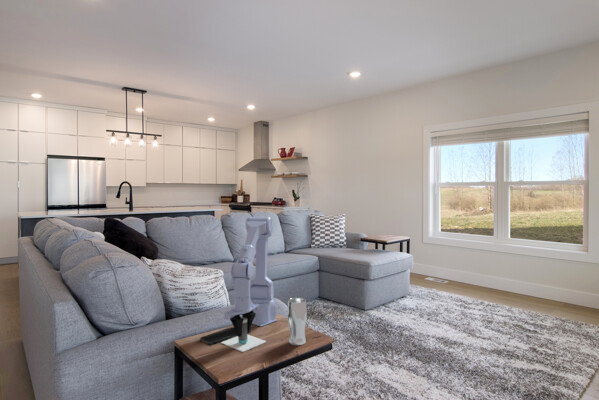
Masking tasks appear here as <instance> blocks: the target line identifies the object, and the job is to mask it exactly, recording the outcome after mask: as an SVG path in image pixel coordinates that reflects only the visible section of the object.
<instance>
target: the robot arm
mask: <svg viewBox="0 0 599 400" xmlns="http://www.w3.org/2000/svg"><path fill="white" fill-rule="evenodd" d="M245 230H246V232H247V234H246V239H245V244H244V245H243V246H241V248H240V250H239V253H238V257H237V259H236V262H234V263H232V266H231V269H230V270H231V271H230V275H231V279H232V284H233V301H234V304H233V305H234V306H233V309H231V310H229V311H226V312H224V316H223V317H224V318H223V319H224V320H227V321H229V320H230V322H231V324H232V326H233V327H234V329H235V333H236V336H238V337H241V335H242V323H243V320H244V318H242V317H245V318H247V334H248V335H250V333H251V332H250V331H251V328H252V325H255V326H258V327H264V326H266V325H269V324H272V323H274V322H277V321H278V319H276V318H277V316H276V315H277V314H276V313H277V311H276V309H277V308H276V306H277V305H276V302H275V300H274V296H275V288H274V287H275V286H274V282H273V280H271V278H269V277H268V240H269V238H270V237H272V235H273V220H272V218H271V217H270V216H247V218H246V219H245ZM254 259H255V271H253V270H254ZM253 272H255V275H254V276H255V277H253V278H252V276H253Z"/></svg>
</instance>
